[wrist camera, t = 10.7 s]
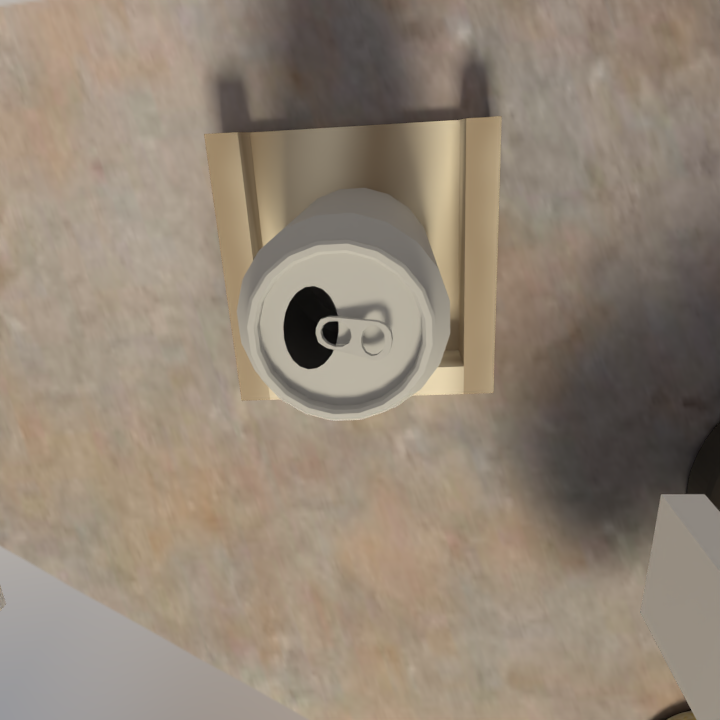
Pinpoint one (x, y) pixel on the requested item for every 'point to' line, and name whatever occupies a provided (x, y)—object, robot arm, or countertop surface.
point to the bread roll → (683, 716)
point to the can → (346, 307)
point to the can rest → (387, 175)
